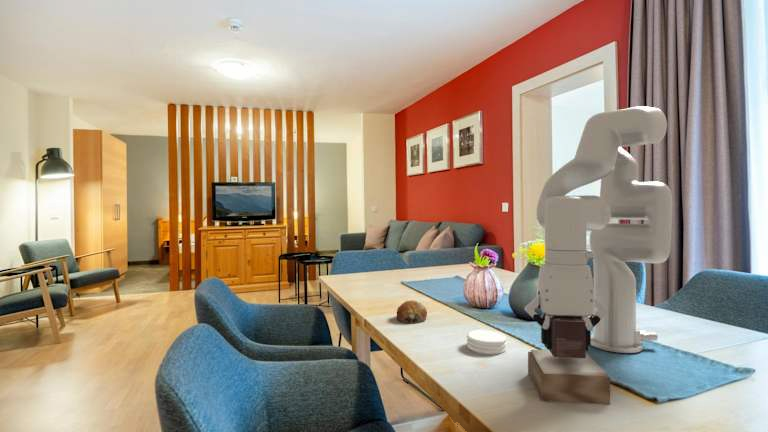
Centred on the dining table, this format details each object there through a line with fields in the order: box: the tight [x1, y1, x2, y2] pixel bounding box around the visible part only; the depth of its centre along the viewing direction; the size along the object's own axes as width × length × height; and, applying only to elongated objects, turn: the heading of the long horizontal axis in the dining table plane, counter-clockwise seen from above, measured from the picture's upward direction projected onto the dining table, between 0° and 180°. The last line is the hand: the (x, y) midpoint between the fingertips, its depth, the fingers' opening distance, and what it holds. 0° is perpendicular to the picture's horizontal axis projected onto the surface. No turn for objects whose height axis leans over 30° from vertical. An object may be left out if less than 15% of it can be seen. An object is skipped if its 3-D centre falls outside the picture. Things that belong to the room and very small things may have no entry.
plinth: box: [527, 349, 611, 405], centre depth 81 cm, size 12×12×6 cm
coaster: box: [466, 329, 508, 356], centre depth 104 cm, size 10×10×4 cm
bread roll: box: [396, 299, 428, 324], centre depth 132 cm, size 10×10×8 cm
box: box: [549, 316, 587, 359], centre depth 80 cm, size 6×6×7 cm
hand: (565, 347), depth 80 cm, fingers closed on box, 6 cm apart
